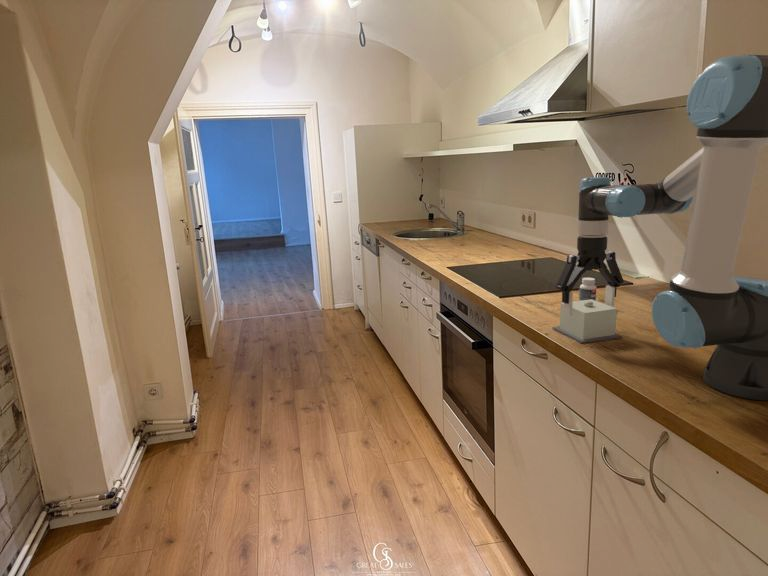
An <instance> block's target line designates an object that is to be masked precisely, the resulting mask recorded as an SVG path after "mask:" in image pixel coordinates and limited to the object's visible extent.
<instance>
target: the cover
mask: <svg viewBox="0 0 768 576" xmlns="http://www.w3.org/2000/svg"><path fill="white" fill-rule="evenodd" d="M559 311H560V312H559V326H560V329H562V330H564V331H566V332H568V333H570V334H573V335H575V336H577V337H579V338H581V339H590V338H597V337H603V336H610V335H615V333H616V330H617V329H616V327H617V314H618V308H617V307H615V306H614V307H611V306H609V305H606V304H605V303H603V302H600V301H597V300H596V301H595V300H592V299H590V300H582V301H579V300H576V301H575V300H573V304H572V315H571V316H569V315H567V314H564V303H563V302H561V303H560V310H559Z"/></svg>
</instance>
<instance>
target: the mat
mask: <svg viewBox="0 0 768 576" xmlns="http://www.w3.org/2000/svg"><path fill="white" fill-rule="evenodd" d="M552 330H553V331H555V332H557V333H559V334H562V335H563V336H566V338H568V339H571V338H572V339H571V340H573V339H574V340H573V341H575V340H576V341H575V342H577V341H578V342H577V343H579V342H580V343H579V344H581V343H583V344H587V343H586V342H589V343H594V342H601V341H607V340H614V339H620V338H622V337H623V335H622V334H619V333H616V332H615V335H610V336H603V337H597V338H590V339H581V338H579V337H577V336H575V335H573V334H570V333H568V332H566V331H564V330H562V329H560V325H559V326H552Z"/></svg>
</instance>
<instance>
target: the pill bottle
mask: <svg viewBox="0 0 768 576" xmlns="http://www.w3.org/2000/svg"><path fill="white" fill-rule="evenodd" d="M581 283H582V284H580V286H579V296H578V301H582V300H590V299H592V300H595V301H597V300H596V298H597V285H595V284H596V279H595V278H594V277H582V279H581Z"/></svg>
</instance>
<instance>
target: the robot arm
mask: <svg viewBox="0 0 768 576" xmlns="http://www.w3.org/2000/svg"><path fill="white" fill-rule="evenodd" d="M686 113H687V115H688V116H689V117H688V120H689V121H690V123H691V124H692V125H693V126H695V127H696V128H697V131H696V139H697V140H698V142H699V143H700V144H701V145H702V146H703V147H701V148H700V149H699V150H698V151H695V153H694V154H693V155H691V156H690V157H689V158H687V160H685V161H684V162H683V163H682V164H680V165H679V166H677V168H676V169H674V170H673V171H672V172H671V173H669V174H668V175H667V176H666V177H664V178H663V179H662V180H660V181H659V182H656V183H645V184H644V183H643V184H642V183H641V184H620V185H618V184H617V185H613V184H612V182H611V178H610V177H608V176H599V177H598V176H597V177H596V176H595V177H584V178H581V180H580V182H579V191H578V195H579V196H578V221H577V234H578V235H579V236H578V237H577V241H576V243H577V244H576V248H577V251H578V253H577V255H573V254H568V255H567V256H566V257H567V258H566V263H565V265H564V268H563V270H562V272H561V273H560V276H559V278H558V281H557V283H556V285H555V289H556V290H559V291H561V303H564V314H567V315H569V316H571V315H572V304H573V302H574V300H573V299H574V296H573V295H574V292H573V291H572V289H573V288H574V286H575V285H576V284H577V282H578V281H579V279H581V277H582V276H583V275H584V273H586V272H587V271H592V270H595V271H596V270H597V271H598V272H599V273H600V274H601V276H602V277H603V279H604V280H605V281H606V283H607V284H608V285H605V296H604V304H606V305H609V306H611V307H614V308H615V306H614V305H615V298H617V288H620V286H621V285H623V284H624V278H623V276H622V273H621V271H620V268H619V265H618V262H617V259H616V256H617V255H616V252H615V251H612V250H607V249H608V237H607V235H608V233H609V218H610V217H611V216H612V217H618V218H620V219H621V218H622V219H623V218H633V217H635V216H642V215H659V214H660V215H661V214H664V215H665V214H667V215H672V214H675V213H681V212H682V213H683V212H684V211H686V210H688V209H689V208H690V205H691V204H692V209H691V214H690V220H689V227H688V230H687V237H686V242H685V247H684V253H683V257H682V262H681V268H680V270H679V271H678V272H676V273H674V274H673V275H672V276H671V277H670V279H669V280H670V281H669V287H668V290H665V291H664V290H663V291H662V292H659V293H658V295H656V296H655V297H654V299H653V301H652V305H651V317H652V321H653V325H654V326H655V329H656V330H657V334H659V336H660V337H661V338H662V340H664V341H665V342H667V343H668V344H669V345H671V346H672V347H674V348H675V347H676V348H678V349H679V348H680V349H687V348H689V349H690V348H693V349H699V348H701V347H709V346H716V347H715V348H714V351H713V352H712V354H711V356H710V358H709V360H708V361H707V364H706V365H705V366H704V370H703V376H702V377H703V378H702V379H703V381H704V382H705V384H707V385H708V386H710V387H711V388H713V389H715V390H717V391H719V392H722V393H724V394H727V395H731V396H734V397H737V398H743V399H748V400H754V401H755V400H756V401H768V279H763V278H755V277H748V276H738V275H735V276H734V275H733V274H734V271H735V270H734V269H735V266H736V261H737V257H738V252H739V247H740V242H741V237H742V233H743V229H744V224H745V220H746V216H747V211H748V207H749V202H750V198H751V195H752V190H753V185H754V180H755V175H756V171H757V166H758V163H759V158H760V153H761V150H762V149H763V148H765V147H766V146H768V54H743V55H742V54H741V55H733V56H732V55H730V56H726V57H722V58H719V59H717V60H715V61H713V62H712V63H710V64H709V65H708V66H706V67H705V69H704V70H703V71H702V72H700V73H699V74H698V76H697V77H696V78H695V80H694V82H693V83H692V85H691V88H690V89H689V93H688V96H687V99H686ZM605 260H606V263H605ZM606 264H607V265H606Z"/></svg>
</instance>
